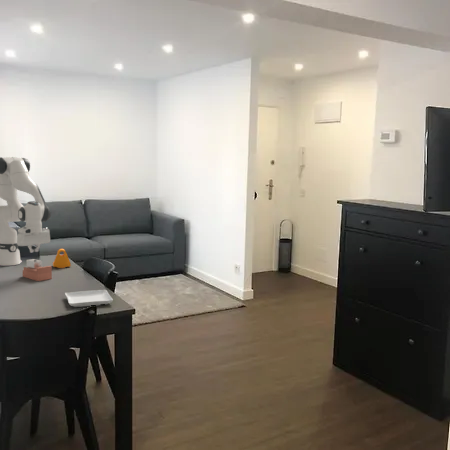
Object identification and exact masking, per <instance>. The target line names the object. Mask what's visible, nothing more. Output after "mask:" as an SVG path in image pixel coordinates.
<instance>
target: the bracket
mask: <svg viewBox="0 0 450 450" xmlns="http://www.w3.org/2000/svg"><path fill="white" fill-rule="evenodd" d="M62 252H63V254H60V253H62ZM52 267H53V268H57V269H61V268H62V269H64V268H65V267H71V261H70V258H69V256H68V254H67V251H66V250H65V249H64V248H59V249H57V252H56V256H55V258H54V261H53V262H52ZM65 269H66V268H65Z"/></svg>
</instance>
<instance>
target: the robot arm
mask: <svg viewBox="0 0 450 450" xmlns="http://www.w3.org/2000/svg"><path fill="white" fill-rule="evenodd" d="M30 170H31V163H30V161H29V159H28V158H25V157H16V156H15V157H14V156H12V157H10V156H9V157H7V156H6V157H1V156H0V199H1V200H3V201H5V202H6V203H7V205H0V266H15V265H20V264H21V263H22V262H23V261H22V260H21V253H20V249H19V247H27V248H28V249H29V253H34V252H35V253H38V252H39V249H40V247H41V245H44V244H50V243H51V234H50V232H51V231H50V229H49V228H48V227H45V228H44V227H43V223H46V222H47V221H49V220H50V218H51V214H52V212H51V210H50V207H49V206H48V205H47V202H46V201H45V198H44V195H43V193H42V191H41V189H40V187H39V186H38V184H37V183H35V181H33V179H32V178H31V177H30V174H29V172H30ZM18 191H19V192H23V193H27V194H29V195H31V196H32V197H33V198H34V201H28V202H26V205H23V203H22V202H21V200H20V199H19V197H18ZM15 222H22V223H23V222H25V225H24V226H22V227H20V228H18V229H17V230H16V229H15V228H14V227H11V226H10V225H9V223H15ZM33 246H36V248H34V249H33V248H32V247H33Z"/></svg>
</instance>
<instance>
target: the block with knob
mask: <svg viewBox="0 0 450 450" xmlns="http://www.w3.org/2000/svg"><path fill="white" fill-rule="evenodd" d="M26 267H27V268H30V269H34V270H36V268H39V267H43V260H41V259H35V258H32V259H31V258H30V259H26Z"/></svg>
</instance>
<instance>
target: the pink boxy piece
mask: <svg viewBox="0 0 450 450" xmlns="http://www.w3.org/2000/svg"><path fill="white" fill-rule="evenodd" d="M52 267H53V265H46V266H45V265H44V266H42V267H39V268H36V270H34V269H30V268H27V266H24V267H23V269H22V277H23V278H26V279H30V280H32V281H35V282H42V281H47V280H52V278H53V277H52V276H53V275H52V271H53V268H52Z"/></svg>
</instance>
